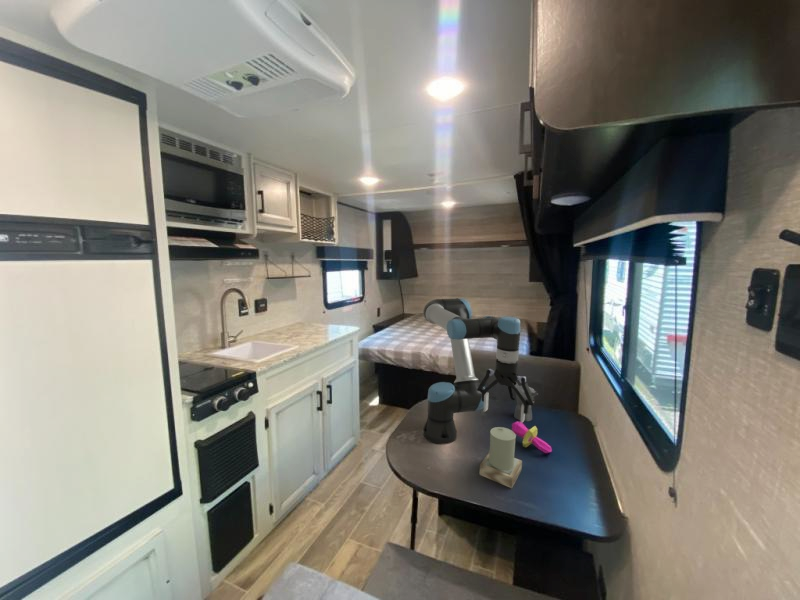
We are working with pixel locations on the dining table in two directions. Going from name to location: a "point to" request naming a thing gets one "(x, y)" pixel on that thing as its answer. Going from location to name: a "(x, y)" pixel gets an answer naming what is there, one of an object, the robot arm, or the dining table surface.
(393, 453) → the dining table surface
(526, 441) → the toy
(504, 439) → the can
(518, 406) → the coffeepot
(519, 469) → the pedestal
